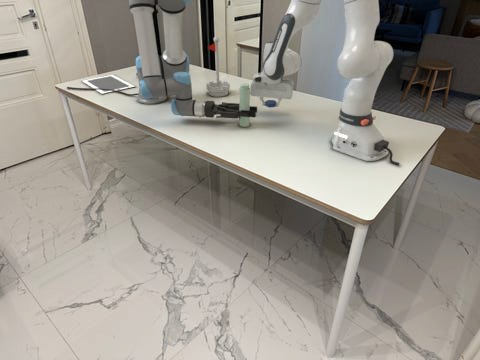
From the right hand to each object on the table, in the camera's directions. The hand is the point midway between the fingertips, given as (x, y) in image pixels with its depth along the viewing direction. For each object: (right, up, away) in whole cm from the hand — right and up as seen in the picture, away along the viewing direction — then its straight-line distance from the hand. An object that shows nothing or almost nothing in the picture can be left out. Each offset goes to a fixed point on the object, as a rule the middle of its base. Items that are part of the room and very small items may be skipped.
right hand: (270, 105), depth 164 cm
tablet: (-95, +22, +42) cm, 106 cm away
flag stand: (-27, +13, +27) cm, 40 cm away
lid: (0, +1, -1) cm, 2 cm away
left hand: (-8, -6, -13) cm, 16 cm away
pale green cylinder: (-13, -11, -9) cm, 19 cm away
